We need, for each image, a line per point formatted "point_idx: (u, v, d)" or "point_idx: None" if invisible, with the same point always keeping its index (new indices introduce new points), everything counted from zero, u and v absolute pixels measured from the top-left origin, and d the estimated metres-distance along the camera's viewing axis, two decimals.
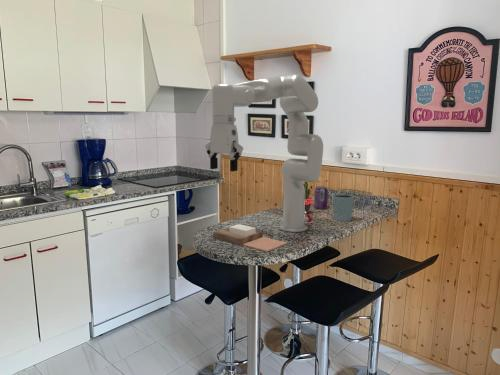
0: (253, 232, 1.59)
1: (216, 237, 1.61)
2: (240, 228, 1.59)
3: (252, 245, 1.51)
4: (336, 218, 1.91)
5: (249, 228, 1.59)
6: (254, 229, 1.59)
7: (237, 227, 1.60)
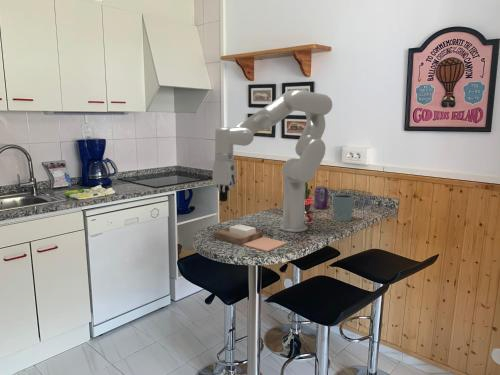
0: (253, 232, 1.59)
1: (216, 237, 1.61)
2: (240, 228, 1.59)
3: (252, 245, 1.51)
4: (336, 218, 1.91)
5: (249, 228, 1.59)
6: (254, 229, 1.59)
7: (237, 227, 1.60)
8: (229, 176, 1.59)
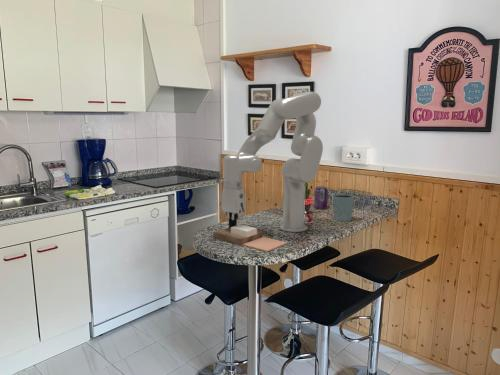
0: (254, 232, 1.58)
1: (216, 237, 1.61)
2: (241, 228, 1.58)
3: (252, 245, 1.51)
4: (336, 218, 1.91)
5: (250, 228, 1.58)
6: (255, 229, 1.59)
7: (238, 227, 1.60)
8: (238, 204, 1.58)
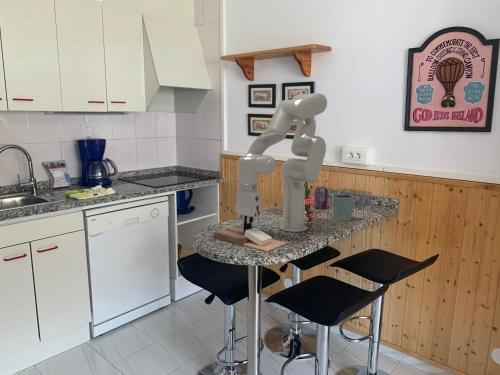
0: (268, 241, 1.54)
1: (216, 237, 1.61)
2: (256, 235, 1.53)
3: (252, 245, 1.51)
4: (336, 218, 1.91)
5: (265, 237, 1.53)
6: (270, 238, 1.54)
7: (253, 233, 1.54)
8: (254, 207, 1.53)
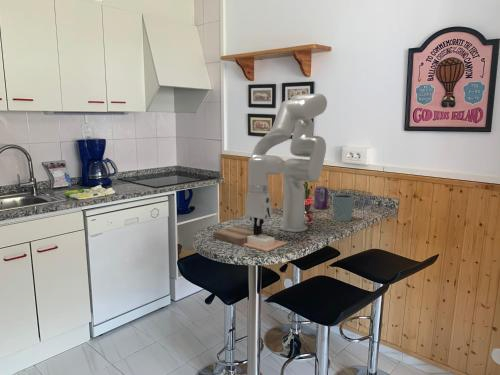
0: (272, 242, 1.53)
1: (216, 237, 1.61)
2: (258, 238, 1.52)
3: (252, 245, 1.51)
4: (336, 218, 1.91)
5: (268, 238, 1.52)
6: (273, 239, 1.53)
7: (255, 237, 1.54)
8: (264, 209, 1.49)
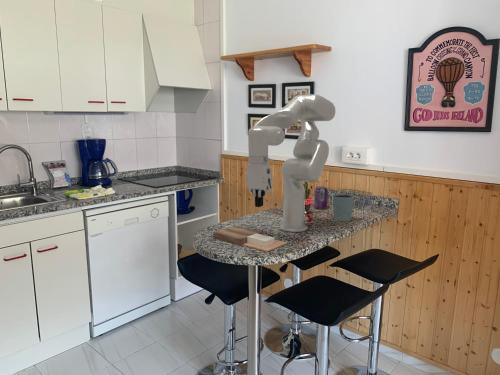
0: (272, 242, 1.53)
1: (216, 237, 1.61)
2: (258, 238, 1.52)
3: (252, 245, 1.51)
4: (336, 218, 1.91)
5: (268, 238, 1.52)
6: (273, 239, 1.53)
7: (255, 237, 1.54)
8: (265, 180, 1.48)
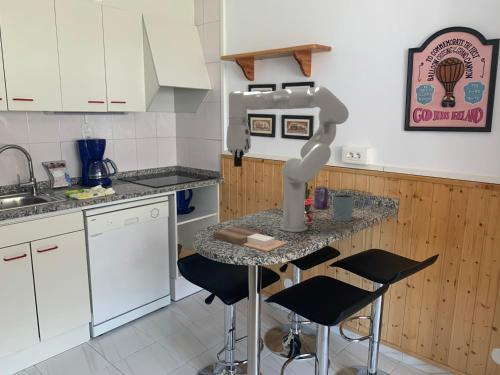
0: (272, 242, 1.53)
1: (216, 237, 1.61)
2: (258, 238, 1.52)
3: (252, 245, 1.51)
4: (336, 218, 1.91)
5: (268, 238, 1.52)
6: (273, 239, 1.53)
7: (255, 237, 1.54)
8: (244, 140, 1.58)
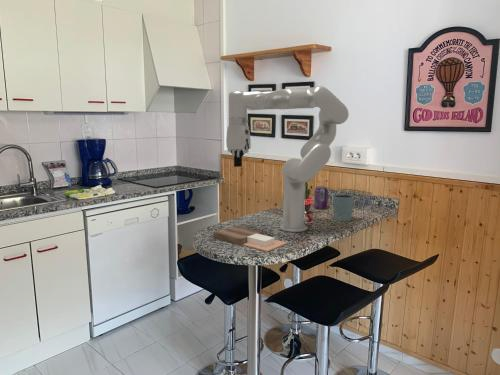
0: (272, 242, 1.53)
1: (216, 237, 1.61)
2: (258, 238, 1.52)
3: (252, 245, 1.51)
4: (336, 218, 1.91)
5: (268, 238, 1.52)
6: (273, 239, 1.53)
7: (255, 237, 1.54)
8: (243, 140, 1.58)
